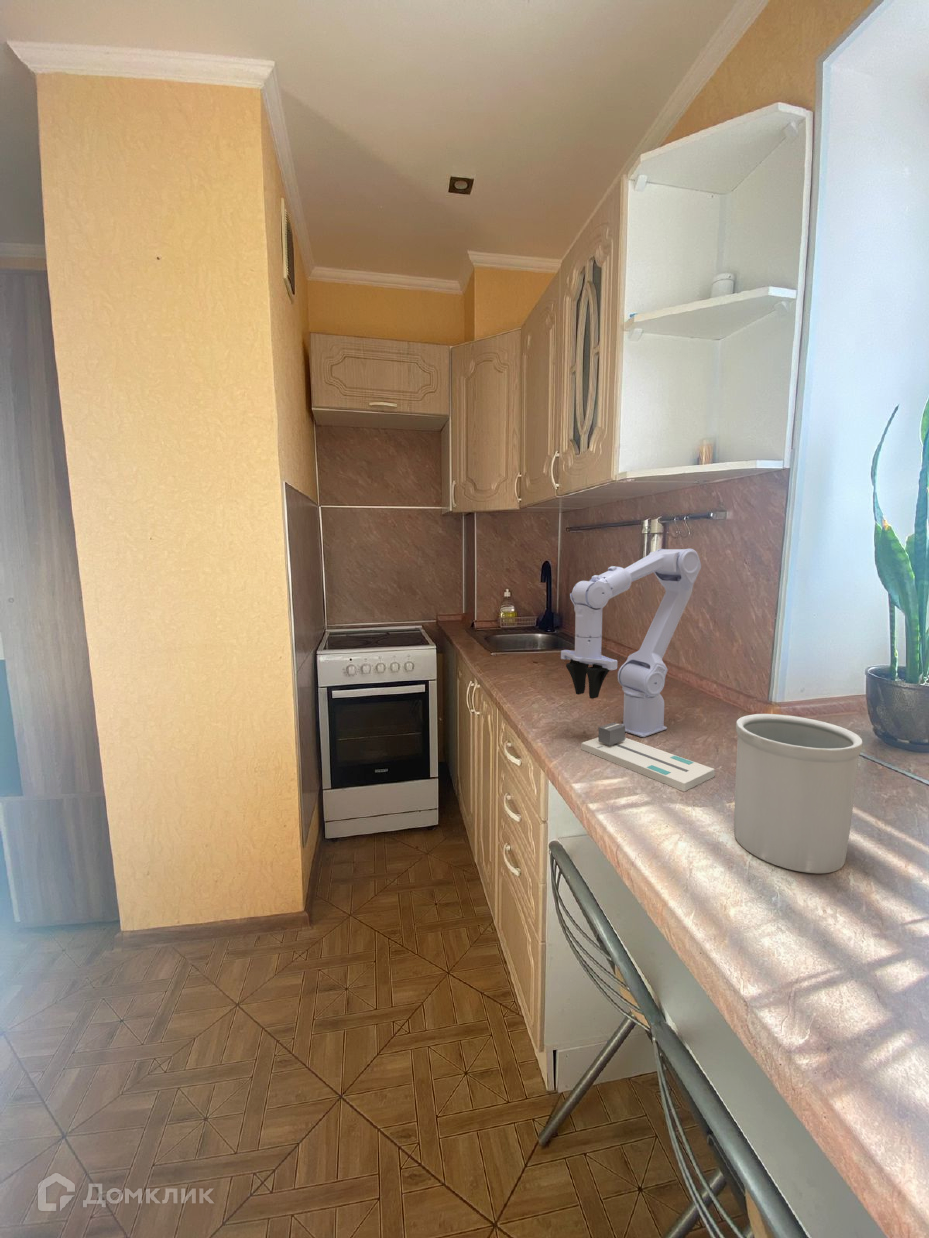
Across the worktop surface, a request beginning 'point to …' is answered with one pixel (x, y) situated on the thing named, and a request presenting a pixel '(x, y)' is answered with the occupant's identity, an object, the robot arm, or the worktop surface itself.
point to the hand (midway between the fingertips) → (586, 695)
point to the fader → (611, 733)
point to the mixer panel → (652, 762)
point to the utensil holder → (795, 790)
